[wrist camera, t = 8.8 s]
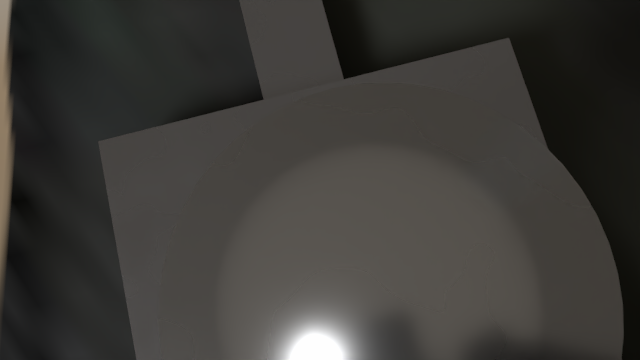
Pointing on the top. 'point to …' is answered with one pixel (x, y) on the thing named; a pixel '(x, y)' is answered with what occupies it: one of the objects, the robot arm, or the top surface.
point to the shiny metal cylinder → (388, 240)
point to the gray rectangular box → (226, 125)
